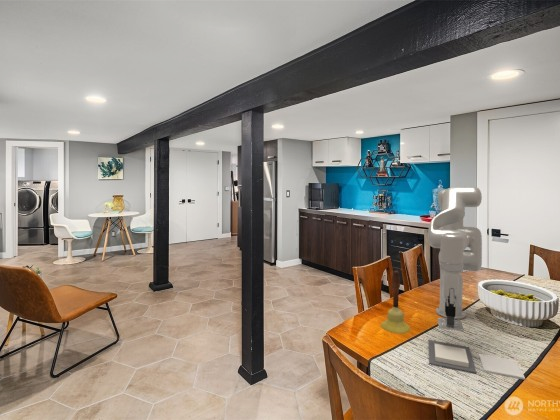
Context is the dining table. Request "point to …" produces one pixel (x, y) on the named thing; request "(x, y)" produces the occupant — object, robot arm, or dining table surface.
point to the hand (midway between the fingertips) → (450, 314)
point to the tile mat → (451, 366)
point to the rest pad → (501, 366)
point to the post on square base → (450, 323)
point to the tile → (451, 355)
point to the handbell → (395, 311)
